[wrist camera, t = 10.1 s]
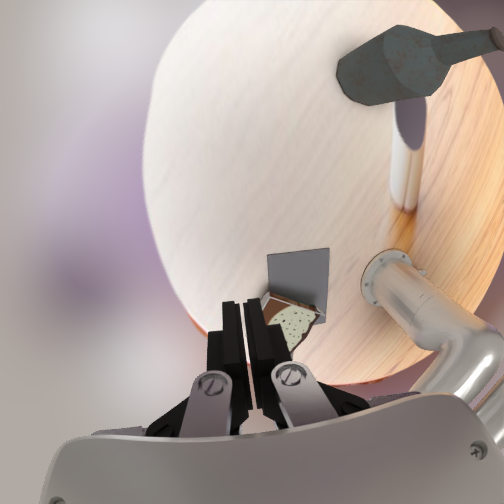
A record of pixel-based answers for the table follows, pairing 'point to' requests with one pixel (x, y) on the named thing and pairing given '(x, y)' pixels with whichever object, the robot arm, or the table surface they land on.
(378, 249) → the table surface
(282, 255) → the mat
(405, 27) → the bottle
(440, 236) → the table surface
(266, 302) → the food container
